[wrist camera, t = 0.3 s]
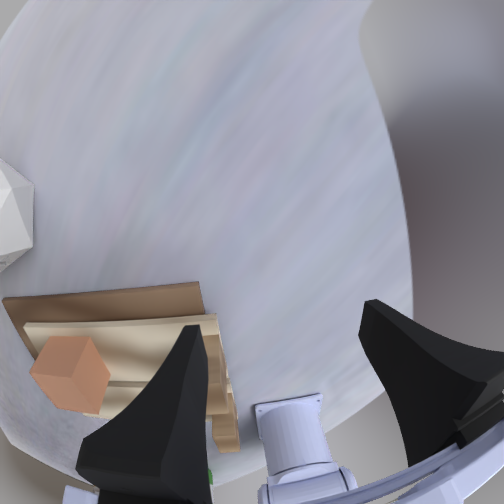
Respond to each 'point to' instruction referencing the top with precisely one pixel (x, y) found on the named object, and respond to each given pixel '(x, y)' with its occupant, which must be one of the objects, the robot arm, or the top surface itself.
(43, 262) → the top surface
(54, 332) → the slat
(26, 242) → the die
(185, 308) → the board
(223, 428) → the empty slat
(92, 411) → the block
